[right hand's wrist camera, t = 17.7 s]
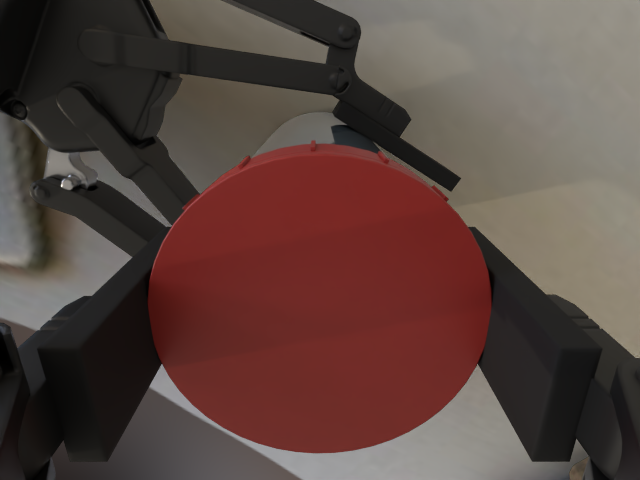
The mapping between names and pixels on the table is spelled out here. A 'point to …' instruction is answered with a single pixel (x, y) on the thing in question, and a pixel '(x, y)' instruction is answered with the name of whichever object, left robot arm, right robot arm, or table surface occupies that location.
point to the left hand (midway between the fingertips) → (396, 247)
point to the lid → (319, 300)
